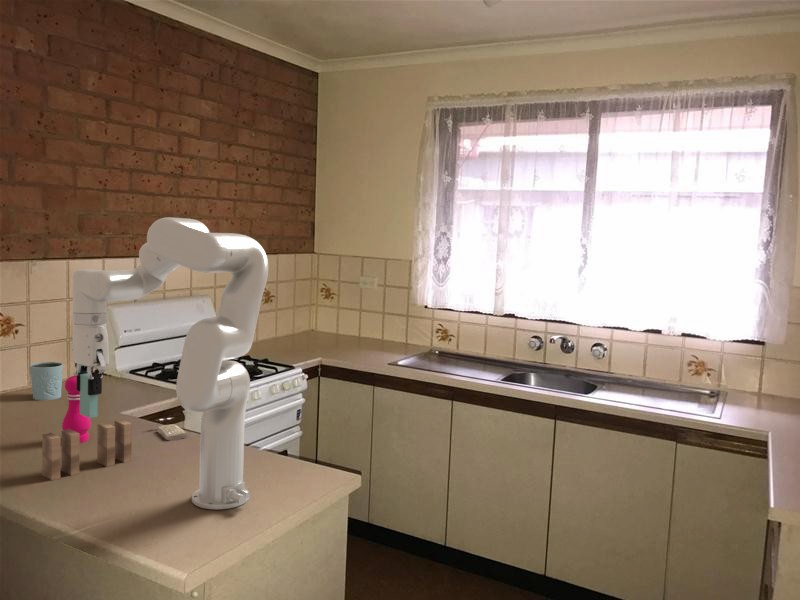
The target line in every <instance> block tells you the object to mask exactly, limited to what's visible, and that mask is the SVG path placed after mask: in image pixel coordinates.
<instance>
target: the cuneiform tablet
mask: <svg viewBox="0 0 800 600" xmlns="http://www.w3.org/2000/svg"><path fill="white" fill-rule="evenodd" d="M173 419H176V417H173V416H172V417H167V418H166V417H165V418H159V419H154V420H155V422H160V421H165V420H166V421H167V420H173ZM157 432H158V434H159V435H160V436H161V437H162V438H164V440H166V441H170V442H171V441H177V440H182V439H184V438H187V436H188V434H187V432H186V430H184V429H183V428H181V427H180V426H179V425H177V424H176V423H175V424H165V425H160V426H157Z"/></svg>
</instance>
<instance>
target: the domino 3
mask: <svg viewBox="0 0 800 600" xmlns="http://www.w3.org/2000/svg"><path fill="white" fill-rule="evenodd" d="M88 379H90V377H89V373H87V374H80V414H81V415H84V416H86V417H88V418H90V419H91V418H98V415H99V414H98V411H99V409H98V408H99V406H98V405H99V404H98V403H99V394H97V395H91V396H90V395H88Z"/></svg>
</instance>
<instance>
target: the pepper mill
mask: <svg viewBox="0 0 800 600" xmlns="http://www.w3.org/2000/svg"><path fill="white" fill-rule="evenodd" d="M72 374H73V375H72V376H70V377H68V378H66V380H65V382H64V389H65V391H66V392H67V393H66V399H67V400H68V407H67V411H66V413H65V414H64V415H65V416H64V417H63V421H62V423H61V424H62V426H61V428H62V431H63V430H68V429H70V430H73V431H75V432H77V433H79V434H80V444H81V443H85V442H88V441H89V439H90V433H89V432H88V431H89V429H91V426H92V423H91V418H88V417H86V416H84V415H81V414H80V391H77V390H76V384H77V375H76V370H74V371H73V373H72Z"/></svg>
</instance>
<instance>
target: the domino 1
mask: <svg viewBox="0 0 800 600" xmlns="http://www.w3.org/2000/svg"><path fill="white" fill-rule="evenodd" d="M41 436H42V438H41V439H42V442H41V443H42V445H41V446H42V447H41V449H42V450H41V451H42V453H41V454H42V456H41V458H42V461H41V462H42V463H41V464H42V465H41V466H42V467H41V469H42V473H41V475H42V476H43V477H45V478H47V479H49V480H51V481H55V480H59V479H61V444H62V436H59V435H57V434H55V433H52V432H49V433H43V434H42V435H41Z"/></svg>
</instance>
